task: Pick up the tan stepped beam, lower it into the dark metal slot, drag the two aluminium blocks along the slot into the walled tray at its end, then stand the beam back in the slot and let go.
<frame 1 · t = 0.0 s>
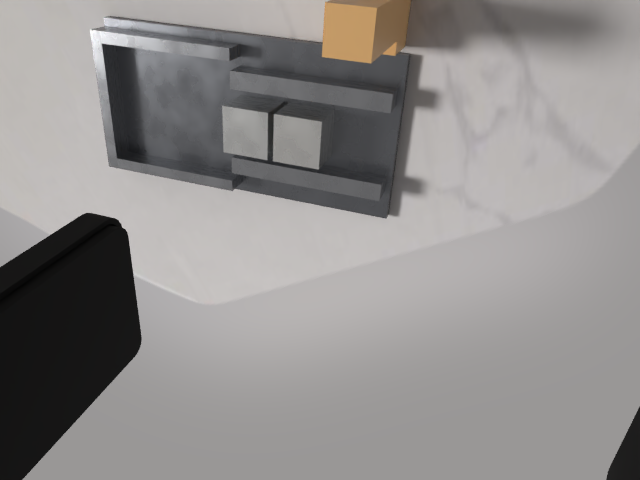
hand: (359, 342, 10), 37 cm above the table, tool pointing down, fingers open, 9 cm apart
slot board: (249, 116, 49), on the table
tan stepped beam: (389, 9, 42), on the table
chip b: (261, 121, 48), point 1 cm above the table, touching slot board
chip a: (310, 129, 47), point 1 cm above the table, touching slot board
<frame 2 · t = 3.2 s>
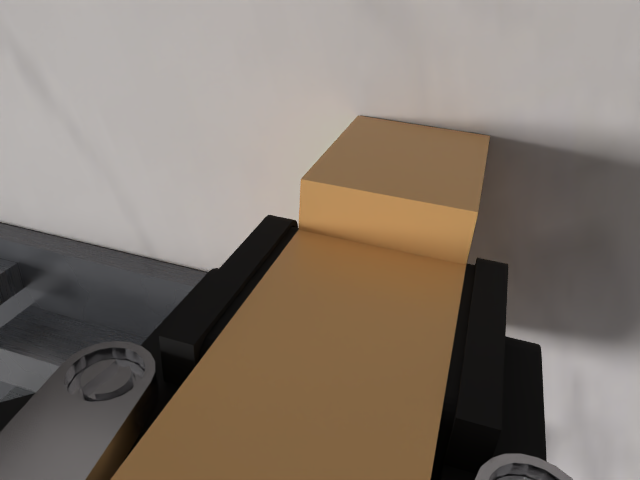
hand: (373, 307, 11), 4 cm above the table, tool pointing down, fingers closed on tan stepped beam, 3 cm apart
slot board: (79, 390, 21), on the table
tan stepped beam: (406, 222, 14), on the table, touching gripper
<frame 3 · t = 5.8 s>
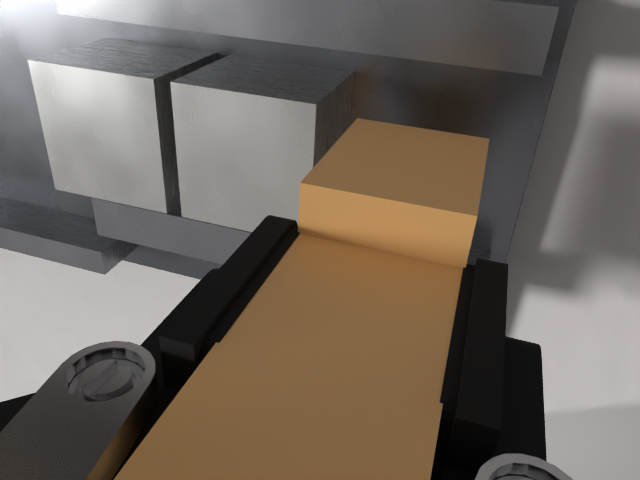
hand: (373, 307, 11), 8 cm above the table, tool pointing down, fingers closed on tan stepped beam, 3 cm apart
slot board: (140, 93, 20), on the table
tan stepped beam: (406, 225, 14), point 5 cm above the table, touching gripper
chip b: (165, 105, 19), point 1 cm above the table, touching slot board
chip a: (288, 126, 18), point 1 cm above the table, touching slot board
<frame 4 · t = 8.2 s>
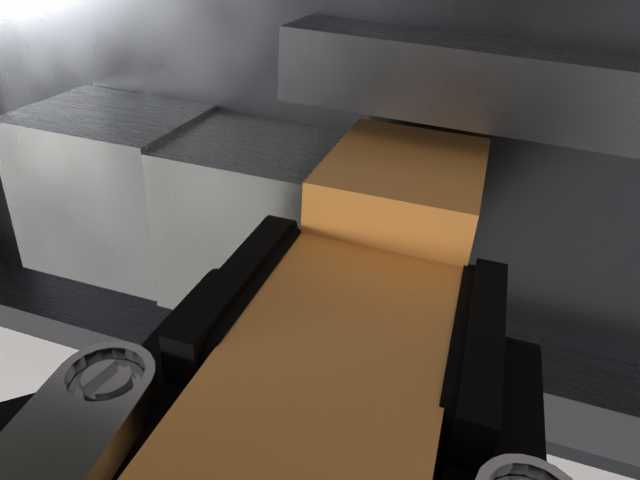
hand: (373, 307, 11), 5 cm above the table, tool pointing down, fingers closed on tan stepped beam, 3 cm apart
slot board: (327, 183, 16), on the table
tan stepped beam: (407, 224, 14), point 1 cm above the table, touching gripper
chip b: (155, 163, 16), point 1 cm above the table, touching chip a, slot board
chip a: (284, 192, 15), point 1 cm above the table, touching chip b, slot board
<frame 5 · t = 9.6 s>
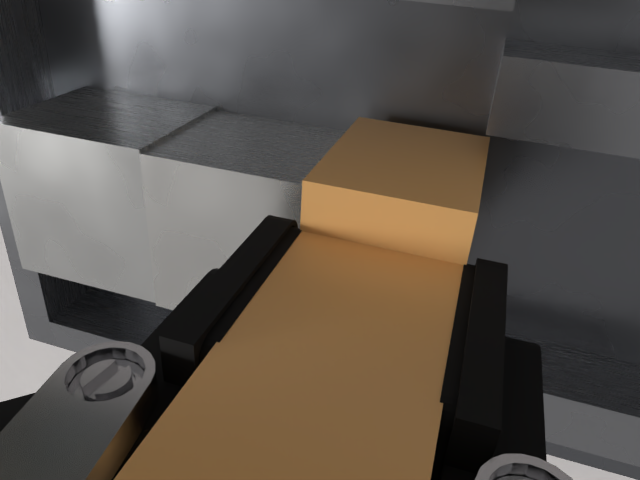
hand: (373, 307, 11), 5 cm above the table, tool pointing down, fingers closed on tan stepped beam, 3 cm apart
slot board: (486, 215, 14), on the table
tan stepped beam: (407, 223, 14), point 1 cm above the table, touching chip a, gripper
chip b: (155, 164, 16), point 1 cm above the table, touching chip a, slot board
chip a: (284, 192, 15), point 1 cm above the table, touching chip b, tan stepped beam, slot board
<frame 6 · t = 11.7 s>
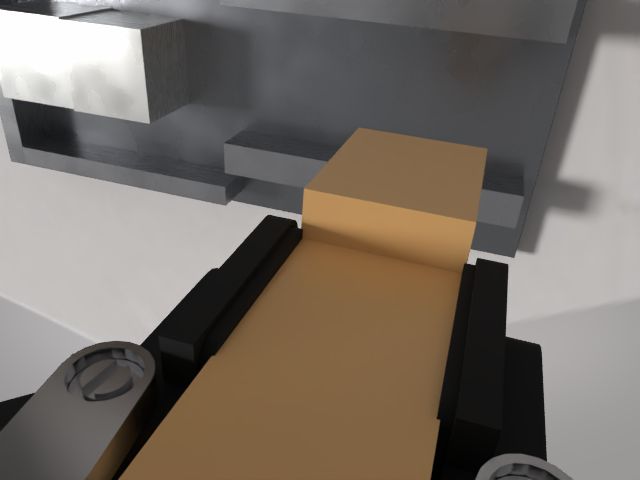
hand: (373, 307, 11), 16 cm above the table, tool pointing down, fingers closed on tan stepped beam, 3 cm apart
slot board: (257, 66, 26), on the table
tan stepped beam: (405, 232, 14), point 13 cm above the table, touching gripper
chip b: (80, 46, 28), point 1 cm above the table, touching slot board
chip a: (150, 57, 27), point 1 cm above the table, touching slot board
when the fingers open (6 cm above the table, at t = 13.4 s): tan stepped beam moves 5 cm and tips over, resting on slot board.
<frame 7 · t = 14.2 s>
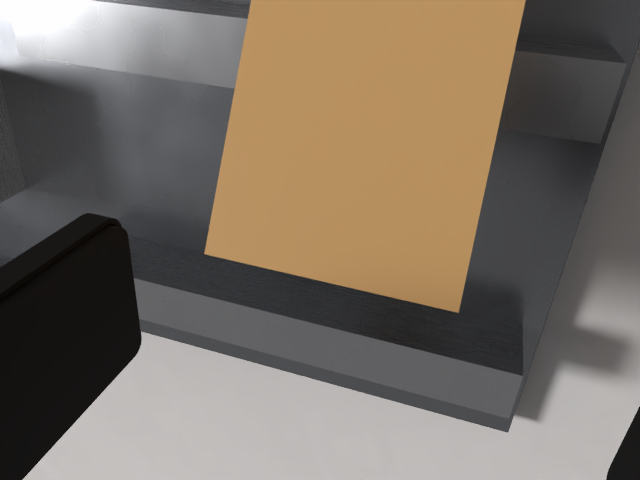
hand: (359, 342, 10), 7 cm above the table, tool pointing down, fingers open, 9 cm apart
slot board: (119, 139, 17), on the table
tan stepped beam: (361, 268, 9), point 7 cm above the table, tilted 117°, touching slot board
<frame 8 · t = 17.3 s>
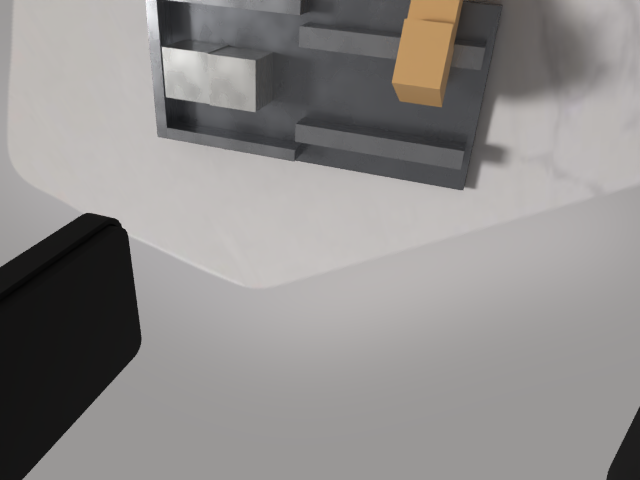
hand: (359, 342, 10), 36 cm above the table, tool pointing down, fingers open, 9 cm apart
slot board: (314, 79, 45), on the table
tan stepped beam: (418, 95, 37), point 7 cm above the table, tilted 117°, touching slot board
chip b: (206, 67, 47), point 1 cm above the table, touching slot board
chip a: (250, 74, 46), point 1 cm above the table, touching slot board
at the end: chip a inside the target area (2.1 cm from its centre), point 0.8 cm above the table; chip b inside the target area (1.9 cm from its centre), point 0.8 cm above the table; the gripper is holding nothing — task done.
